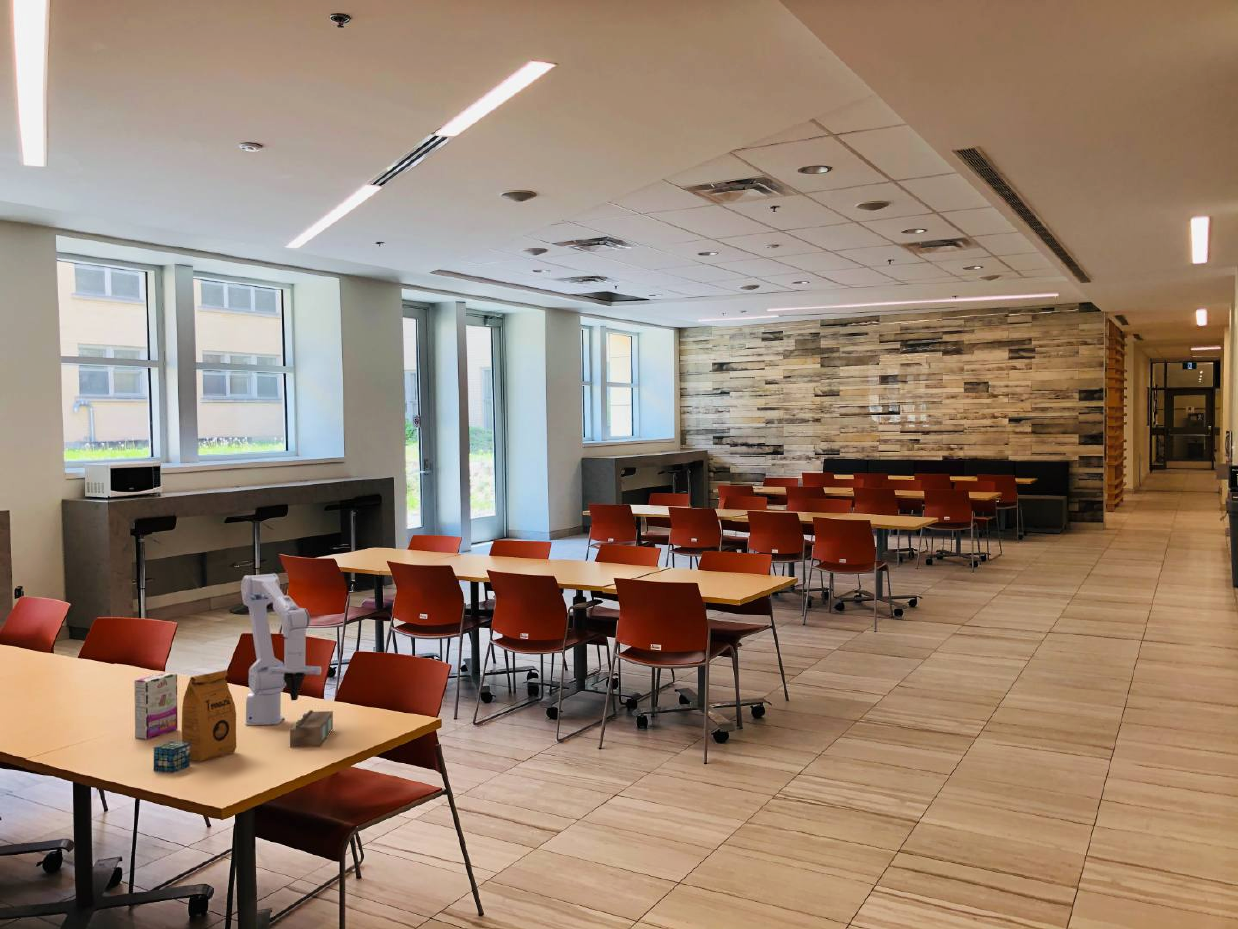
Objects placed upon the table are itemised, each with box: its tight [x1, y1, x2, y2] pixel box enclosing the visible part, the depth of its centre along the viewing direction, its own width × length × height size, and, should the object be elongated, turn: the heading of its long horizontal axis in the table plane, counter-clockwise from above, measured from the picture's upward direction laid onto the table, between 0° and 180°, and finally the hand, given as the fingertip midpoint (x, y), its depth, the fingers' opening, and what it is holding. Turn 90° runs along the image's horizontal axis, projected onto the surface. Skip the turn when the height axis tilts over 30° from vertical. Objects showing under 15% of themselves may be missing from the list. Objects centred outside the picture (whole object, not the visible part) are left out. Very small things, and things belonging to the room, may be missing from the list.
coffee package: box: [181, 669, 238, 761], centre depth 253 cm, size 10×12×22 cm
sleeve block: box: [289, 709, 334, 748], centre depth 270 cm, size 8×17×6 cm, turn 5°
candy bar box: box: [134, 672, 178, 740], centre depth 274 cm, size 11×5×16 cm, turn 160°
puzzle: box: [153, 740, 191, 774], centre depth 242 cm, size 6×6×6 cm
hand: (294, 699), depth 274 cm, fingers closed
